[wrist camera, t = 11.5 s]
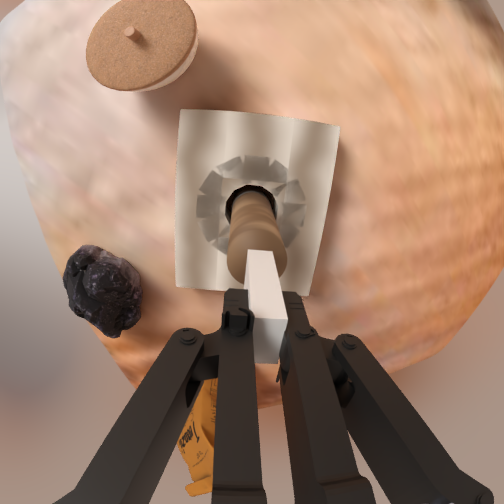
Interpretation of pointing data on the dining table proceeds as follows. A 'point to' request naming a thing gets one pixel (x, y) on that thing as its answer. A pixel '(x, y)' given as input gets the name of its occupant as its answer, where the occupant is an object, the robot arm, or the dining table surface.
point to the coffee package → (200, 439)
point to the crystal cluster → (103, 290)
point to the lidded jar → (142, 44)
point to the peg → (253, 232)
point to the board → (249, 173)
